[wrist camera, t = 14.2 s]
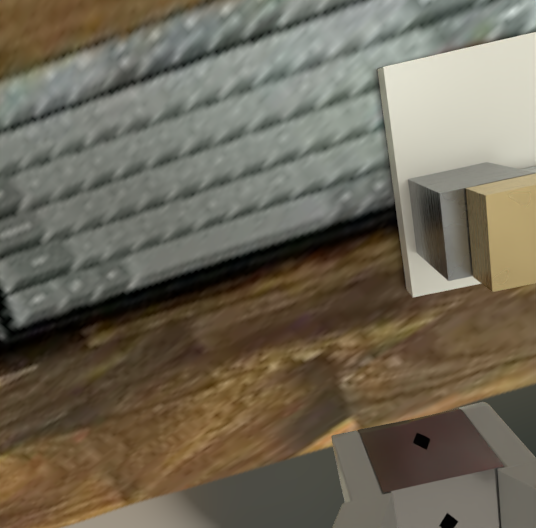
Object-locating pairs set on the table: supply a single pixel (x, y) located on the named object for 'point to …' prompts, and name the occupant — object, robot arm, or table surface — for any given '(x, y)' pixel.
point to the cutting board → (456, 127)
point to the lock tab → (503, 232)
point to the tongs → (449, 214)
